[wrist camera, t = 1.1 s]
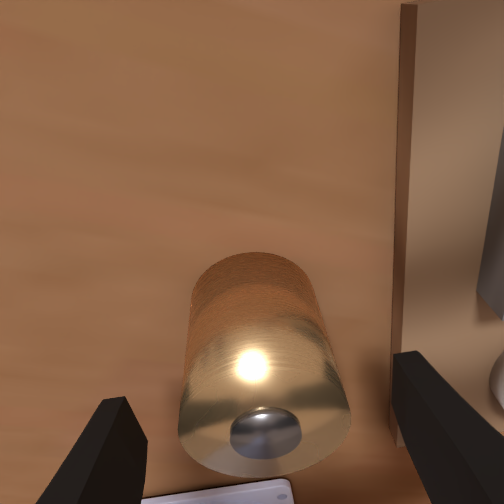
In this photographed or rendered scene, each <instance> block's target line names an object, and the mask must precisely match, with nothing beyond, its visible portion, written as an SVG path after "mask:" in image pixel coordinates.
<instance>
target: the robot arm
mask: <svg viewBox="0 0 504 504" xmlns="http://www.w3.org/2000/svg"><path fill="white" fill-rule="evenodd" d="M391 404H392V407H393V410H394V413H395V416H396V420H397V423H398V426H399V429H400V431H401V434H402V437H403V440H404V443H405V445H406V447H407V450H408V452H409V454H410V456H411V459H412V461H413V463H414V465H415V468H416V470H417V472H418V474H419V476H420V479H421V481H422V483H423V485H424V487H425V490H426V492H427V494H428V496H429V498H430V501H431V503H432V504H504V436H503V435H502V434H500V433H499V432H498V431H497V430H496V429H495V428H494V427H493V426H492V425H491V424H490V423H488V422H487V421H486V420H485V419H484V418H483V417H482V416H481V415H480V414H479V413H478V412H477V411H476V410H475V409H474V408H473V407H472V406H471V405H470V404H469V403H468V402H467V401H466V400H465V399H464V398H462V397H461V396H460V395H459V394H458V392H457V391H456V390H455V389H454V388H453V387H452V386H451V385H450V384H449V383H448V382H447V381H446V380H445V379H444V378H443V377H442V376H441V375H440V374H439V373H438V372H437V371H436V370H435V368H434V367H433V366H432V365H431V364H430V363H429V362H428V361H427V360H426V359H425V358H424V356H423V355H422V354H421V353H420V352H418V351H417V350H415V351H409V352H402V353H396V354H393V369H392V397H391ZM147 445H148V440H147V438H146V436H145V434H144V432H143V430H142V428H141V426H140V425H139V423H138V421H137V419H136V417H135V415H134V413H133V411H132V409H131V407H130V405H129V403H128V401H127V399H126V397H125V396H123V397H116V398H110V399H104V400H102V402H101V403H100V404H99V406H98V408H97V409H96V411H95V412H94V414H93V416H92V417H91V419H90V421H89V422H88V424H87V425H86V427H85V429H84V430H83V432H82V433H81V435H80V437H79V438H78V440H77V442H76V443H75V445H74V446H73V448H72V449H71V451H70V453H69V454H68V456H67V457H66V459H65V460H64V462H63V463H62V465H61V467H60V468H59V470H58V471H57V473H56V474H55V476H54V477H53V479H52V480H51V482H50V483H49V485H48V486H47V488H46V489H45V491H44V492H43V494H42V495H41V496H40V498H39V499H38V501H37V502H36V504H294V500H293V495H292V490H291V485H290V482H289V481H288V480H286V479H274V480H268V481H261V482H254V483H248V484H241V485H234V486H228V487H221V488H214V489H207V490H201V491H194V492H187V493H181V494H174V495H167V496H161V497H154V498H147V499H142V495H143V489H144V484H145V475H146V462H147Z"/></svg>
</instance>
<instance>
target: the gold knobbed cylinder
mask: <svg viewBox="0 0 504 504" xmlns="http://www.w3.org/2000/svg"><path fill="white" fill-rule="evenodd" d="M350 424H351V413H350V408H349V405H348V402H347V398H346V395H345V392H344V388H343V385H342V382H341V379H340V375H339V372H338V369H337V365H336V362H335V359H334V356H333V352H332V349H331V346H330V342H329V339H328V336H327V333H326V329H325V326H324V323H323V319H322V316H321V313H320V310H319V306H318V303H317V300H316V296H315V293H314V290H313V287H312V284H311V282H310V280H309V278H308V276H307V275H306V274H305V273H304V271H303V270H302V269H301V268H300V267H298V266H297V265H296V264H294V263H293V262H291V261H289V260H287V259H286V258H283V257H280V256H278V255H274V254H269V253H261V252H250V253H242V254H237V255H233V256H230V257H228V258H225V259H223V260H221V261H219V262H217V263H216V264H214V265H213V266H211V267H210V268H209V269H208V270H206V271H205V272H204V274H203V275H202V276H201V277H200V278H199V280H198V281H197V283H196V285H195V287H194V289H193V293H192V298H191V307H190V317H189V326H188V336H187V346H186V355H185V365H184V375H183V384H182V394H181V404H180V413H179V423H178V435H179V439H180V442H181V444H182V446H183V448H184V449H185V451H186V452H187V453H188V454H189V455H190V456H191V457H192V458H193V459H194V460H195V461H197V462H198V463H200V464H201V465H203V466H205V467H207V468H209V469H211V470H214V471H216V472H219V473H223V474H227V475H232V476H237V477H247V478H263V477H274V476H280V475H286V474H290V473H293V472H297V471H300V470H303V469H305V468H308V467H310V466H312V465H314V464H316V463H318V462H320V461H322V460H323V459H325V458H326V457H328V456H329V455H330V454H331V453H333V452H334V451H335V450H336V449H337V448H338V447H339V446H340V445H341V444H342V442H343V441H344V439H345V438H346V436H347V434H348V431H349V428H350Z"/></svg>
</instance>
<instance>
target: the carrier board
mask: <svg viewBox="0 0 504 504" xmlns="http://www.w3.org/2000/svg"><path fill="white" fill-rule="evenodd" d="M415 350H417V351H418V352H420V353H421V354H422V355H423V356H424V358H425V359H426V360H427V361H428V362H429V363H430V364H431V365H432V366H433V367H434V368H435V370H436V371H437V372H438V373H439V374H440V375H441V376H442V377H443V378H444V379H445V380H446V381H447V382H448V383H449V384H450V385H451V386H452V387H453V388H454V389H455V390H456V391H457V392H458V394H459V395H460V396H461V397H462V398H464V399H465V400H466V401H467V402H468V403H469V404H470V405H471V406H472V407H473V408H474V409H475V410H476V411H477V412H478V413H479V414H480V415H481V416H482V417H483V418H484V419H485V420H486V421H487V422H488V423H490V424H491V425H492V426H493V427H494V428H495V429H496V430H497V431H498V432H504V0H418V1H413V2H407V3H402V4H401V31H400V65H399V99H398V134H397V168H396V203H395V237H394V271H393V306H392V340H391V375H390V409H389V429H390V431H391V434H392V437H393V439H394V442H395V445H396V447H397V448H398V447H404V446H406V445H405V443H404V440H403V437H402V434H401V431H400V429H399V426H398V423H397V420H396V416H395V413H394V410H393V407H392V404H391V397H392V369H393V354H396V353H402V352H409V351H415Z"/></svg>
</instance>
